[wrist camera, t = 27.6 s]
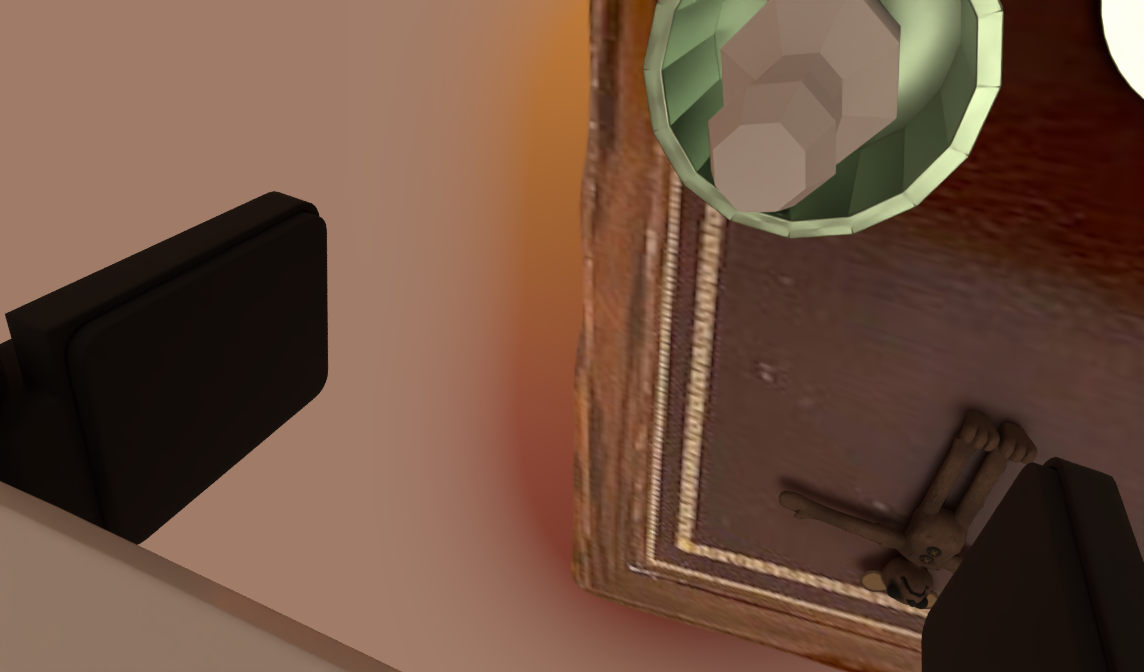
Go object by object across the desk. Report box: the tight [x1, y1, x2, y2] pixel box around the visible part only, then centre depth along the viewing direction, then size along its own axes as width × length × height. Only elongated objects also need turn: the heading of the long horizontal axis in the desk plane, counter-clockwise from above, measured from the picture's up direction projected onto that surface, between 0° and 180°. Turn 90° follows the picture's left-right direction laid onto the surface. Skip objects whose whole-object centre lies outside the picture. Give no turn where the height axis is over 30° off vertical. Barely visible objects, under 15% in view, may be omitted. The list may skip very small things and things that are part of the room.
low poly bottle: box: [708, 0, 901, 212], centre depth 28 cm, size 6×6×22 cm
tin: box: [643, 0, 1004, 239], centre depth 33 cm, size 13×13×10 cm
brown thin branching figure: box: [779, 411, 1037, 609], centre depth 46 cm, size 18×4×14 cm
